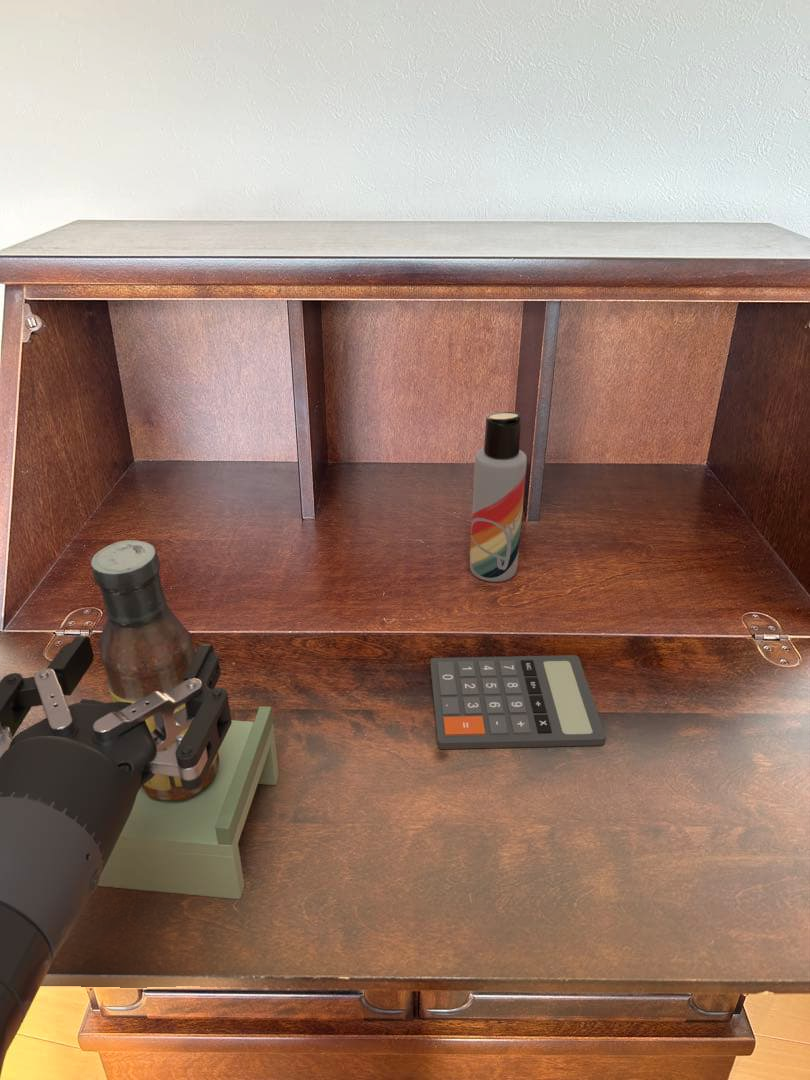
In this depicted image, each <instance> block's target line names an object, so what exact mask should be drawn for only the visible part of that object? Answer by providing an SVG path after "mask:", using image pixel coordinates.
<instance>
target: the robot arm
mask: <svg viewBox="0 0 810 1080" xmlns="http://www.w3.org/2000/svg"><path fill="white" fill-rule="evenodd" d="M94 656H95V655H94V650H93V647H92V643H91V639H90V636H88V635H76V636H75V637H74V638H73V639H72V641H71V642H67V643H66V644H65V645H63V646H61V648H60V649H59V651H58V653H56V655H55V656H54V657H53V659H52V660H51V662H50V663H49V664H48V666H46V668H42V669H40V670H38V671H36V672H35V674H34V675H33V676H28V677H23V675H22V674H21V673H19V672H12V673H9V674H6V675H5V676H4V677H3V678H2V679H1V680H0V1078H1V1076H2V1072H3V1067H4V1063H5V1059H6V1056H7V1052H8V1050H9V1048H10V1047H11V1045H12V1043H13V1041H14V1039H15V1037H16V1035H17V1034H18V1032H19V1030H20V1028H21V1027H22V1024H23V1023H24V1021H25V1019H26V1016H27V1014H28V1012H29V1010H30V1008H31V1007H32V1005H33V1002H34V1000H35V998H36V996H37V994H38V992H39V990H40V988H41V986H42V985H43V982H44V980H45V978H46V976H47V974H48V972H49V970H50V967H51V965H52V963H53V962H54V960H55V958H56V957H57V954H58V953H59V951H60V950H61V948H62V947H63V945H64V944H65V942H66V941H67V940H68V938H69V936H70V935H71V934H72V932H73V930H74V929H75V927H76V925H77V924H78V922H79V920H80V918H81V916H82V914H83V912H84V910H85V909H86V906H87V904H88V902H89V899H90V898H91V897H92V895H93V894H94V892H95V891H96V890H97V888H98V886H97V885H98V882H99V879H100V875H101V873H102V871H103V869H104V867H105V865H106V863H107V861H108V859H109V857H110V855H111V853H112V851H113V849H114V847H115V844H116V842H117V840H118V838H119V836H120V834H121V832H122V830H123V828H124V826H125V824H126V822H127V820H128V818H129V816H130V814H131V811H132V809H133V806H134V803H135V800H136V797H137V794H138V791H139V790H140V788H141V787H142V786H143V785H144V784H145V783H146V782H147V781H149V780H150V779H151V778H152V777H153V776H154V775H155V774H157V775H165V776H172V777H180V779H181V784H182V787H183V788H184V789H187V790H194V789H196V788H198V787H200V786H201V785H202V783H203V781H204V779H205V777H206V775H207V773H208V771H209V769H210V767H211V765H212V762H213V760H214V758H215V756H216V754H217V752H218V750H219V748H220V746H221V744H222V742H223V740H224V738H225V736H226V734H227V732H228V730H229V728H230V726H231V723H232V721H231V720H232V717H231V709H230V701H229V695H228V691H227V689H226V688H224V687H220V686H219V687H218V686H217V684H218V682H219V679H220V677H221V675H222V673H221V666H220V659H219V653H218V652H217V651H216V652H215V651H214V645H213V644H208V643H207V644H206V643H200V644H199V647H198V648H197V649H196V654H195V656H194V658H193V660H192V662H191V664H190V666H189V668H188V670H187V672H186V674H185V676H184V682H183V683H181V684H179V685H177V686H176V687H174V688H172V689H170V690H169V691H167V692H165V693H161V692H160V691H155V692H153V693H151V694H149V695H147V696H146V697H144V698H142V699H140V700H138V701H137V702H135V703H133V704H132V703H130V702H113V701H112V702H102V701H99V700H95V699H86V698H81V700H80V701H79V702H75V703H73V704H69V705H68V703H67V701H66V698H65V696H70V697H71V696H72V694H73V693H74V691H75V690H76V688H77V687H78V685H79V683H80V682H81V680H82V679H83V677H84V676H85V675H86V673H87V672H88V670H89V668H90V667H91V666H92V665H93V663H94ZM184 703H185V706H186V707H185V708H183V709H182V710H180V711H178V712H177V713H175V714H174V711H175V709H176V708H177V707H179V706H181V705H182V704H184ZM40 706H42V708H43V711H44V714H45V718H44V719H42V720H40V721H38V722H36V723H34V724H32V725H31V726H29V727H27V728H26V729H23V730H22V731H20V732H19V733H17V731H18V730H19V728H20V726H21V725H22V723H23V722H24V720H25V718H26V717H27V716H28V714H29V712H30V710H31V709H32V708H34V707H40ZM153 715H154V720H155V724H156V727H155V729H154V731H153V732H152V733H150V731H149V728H148V726H147V724H146V721H145V720H146V719H148V718H149V717H151V716H153ZM188 727H189V728H188ZM187 728H188V730H187V732H186V733H185V735H183V734H180V733H181V732H182V731H183V730H185V729H187ZM16 733H17V734H16ZM15 734H16V735H15ZM171 744H172V746H171V747H170V748H168V749H166V750H163V749H165V748H167V747H168V746H170V745H171ZM162 750H163V751H162Z"/></svg>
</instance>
